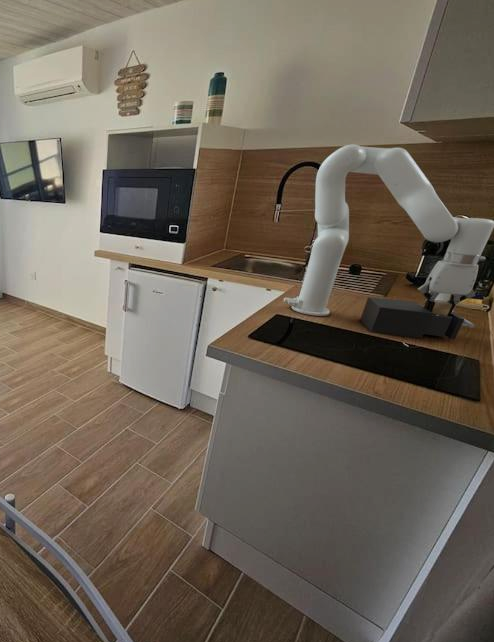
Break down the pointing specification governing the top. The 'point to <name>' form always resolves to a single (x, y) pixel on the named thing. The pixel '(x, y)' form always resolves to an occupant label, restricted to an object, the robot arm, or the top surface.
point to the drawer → (446, 325)
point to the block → (441, 307)
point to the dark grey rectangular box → (395, 317)
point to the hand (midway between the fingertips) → (436, 312)
